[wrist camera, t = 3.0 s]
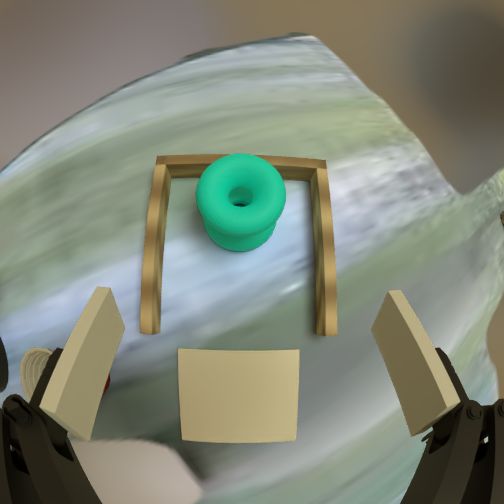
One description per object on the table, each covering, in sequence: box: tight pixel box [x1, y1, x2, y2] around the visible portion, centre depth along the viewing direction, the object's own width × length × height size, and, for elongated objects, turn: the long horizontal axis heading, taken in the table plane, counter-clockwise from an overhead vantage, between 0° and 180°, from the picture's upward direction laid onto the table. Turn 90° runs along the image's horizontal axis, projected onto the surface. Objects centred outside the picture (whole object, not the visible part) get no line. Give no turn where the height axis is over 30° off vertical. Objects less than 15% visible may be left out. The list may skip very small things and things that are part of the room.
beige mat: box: [178, 348, 299, 443], centre depth 32 cm, size 14×16×1 cm
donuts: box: [196, 154, 286, 251], centre depth 33 cm, size 10×10×10 cm
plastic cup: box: [20, 347, 110, 434], centre depth 26 cm, size 11×11×12 cm
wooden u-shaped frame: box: [140, 154, 337, 336], centre depth 35 cm, size 24×24×4 cm
